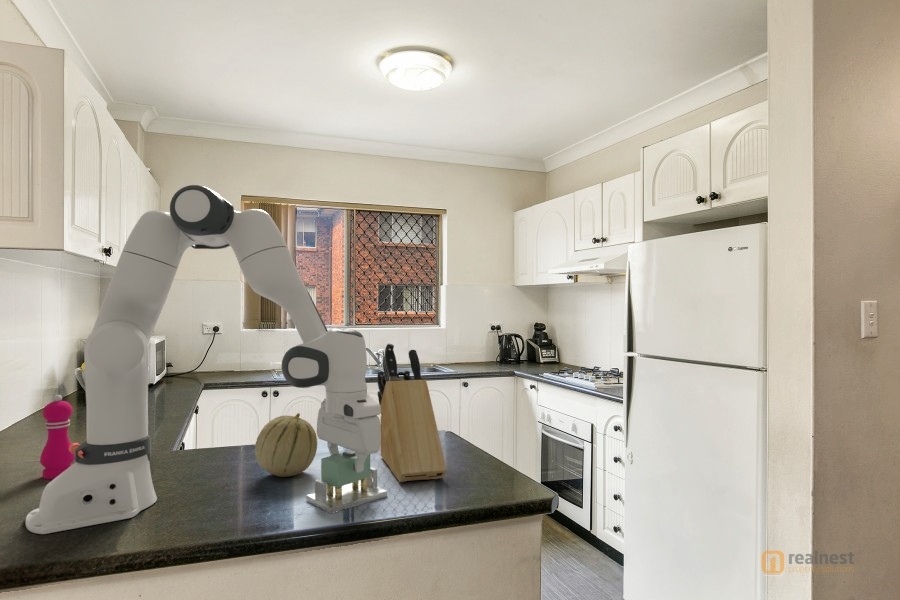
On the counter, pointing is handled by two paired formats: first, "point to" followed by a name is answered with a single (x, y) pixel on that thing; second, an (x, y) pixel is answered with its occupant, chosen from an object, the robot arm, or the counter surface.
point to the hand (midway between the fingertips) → (346, 466)
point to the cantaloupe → (286, 446)
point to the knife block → (408, 422)
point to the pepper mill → (57, 438)
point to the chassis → (346, 493)
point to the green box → (343, 469)
